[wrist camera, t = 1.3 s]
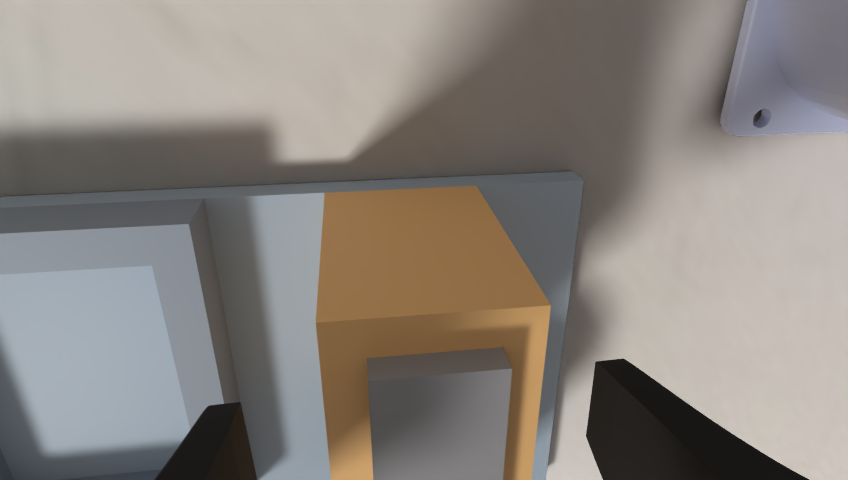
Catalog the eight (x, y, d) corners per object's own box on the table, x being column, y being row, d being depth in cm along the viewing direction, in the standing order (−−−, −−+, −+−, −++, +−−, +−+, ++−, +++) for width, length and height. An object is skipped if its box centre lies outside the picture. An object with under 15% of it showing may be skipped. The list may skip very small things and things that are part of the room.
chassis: (573, 171, 16) (612, 205, 14) (537, 475, 21) (561, 536, 19) (-125, 202, 14) (-216, 248, 12) (23, 531, 19) (-20, 608, 17)
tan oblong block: (476, 185, 15) (563, 324, 9) (468, 366, 18) (532, 566, 12) (324, 192, 15) (313, 344, 9) (339, 377, 17) (339, 590, 11)
